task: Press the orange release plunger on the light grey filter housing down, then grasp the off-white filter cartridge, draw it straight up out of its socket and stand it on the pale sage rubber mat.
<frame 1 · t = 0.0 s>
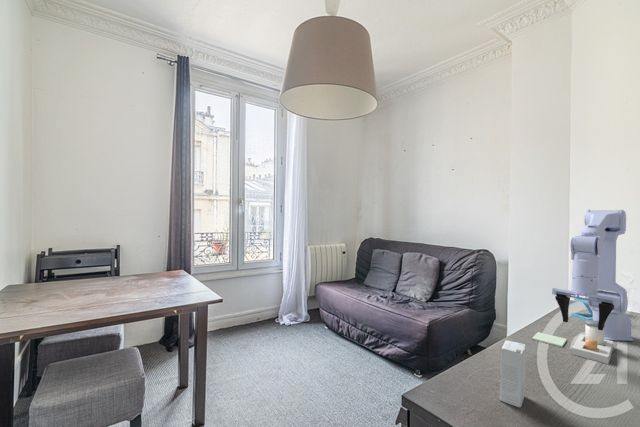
hand: (582, 325, 86), 11 cm above the table, tool pointing down, fingers open, 7 cm apart
mat: (549, 340, 102), on the table
housing: (593, 350, 94), on the table
chair: (588, 317, 125), on the table
skincare box: (512, 400, 69), on the table
cartridge: (594, 347, 96), resting in housing
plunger: (591, 344, 91), point 3 cm above the table, slide at 0.0 cm
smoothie: (592, 310, 135), on the table
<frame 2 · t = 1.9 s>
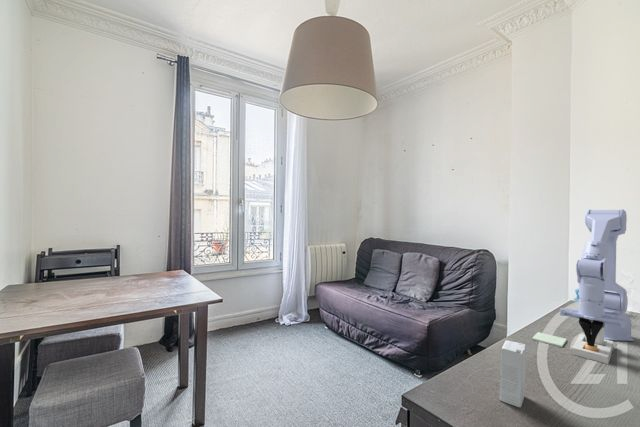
hand: (591, 345, 91), 3 cm above the table, tool pointing down, fingers closed, pressing on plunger
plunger: (591, 348, 91), point 2 cm above the table, slide at 1.4 cm, touching gripper
everything else where it was.
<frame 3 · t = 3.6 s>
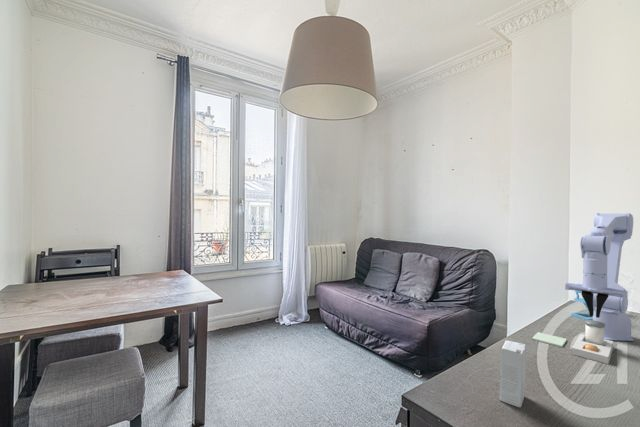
hand: (594, 316, 96), 10 cm above the table, tool pointing down, fingers closed
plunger: (591, 349, 91), point 2 cm above the table, slide at 1.7 cm
everything else where it was.
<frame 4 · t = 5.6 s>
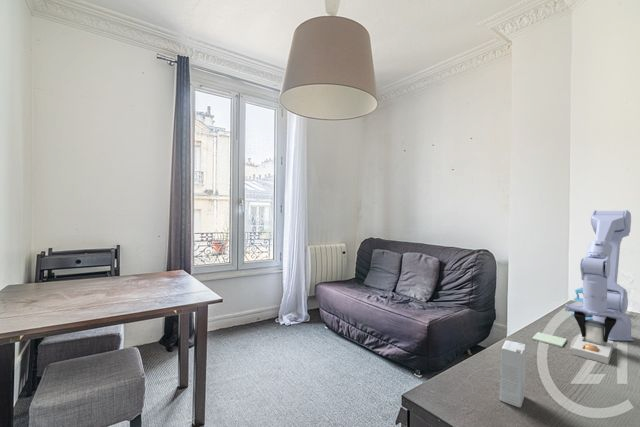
hand: (594, 338, 96), 3 cm above the table, tool pointing down, fingers closed on cartridge, 5 cm apart
cartridge: (594, 347, 96), resting in housing, touching gripper
everything else where it was.
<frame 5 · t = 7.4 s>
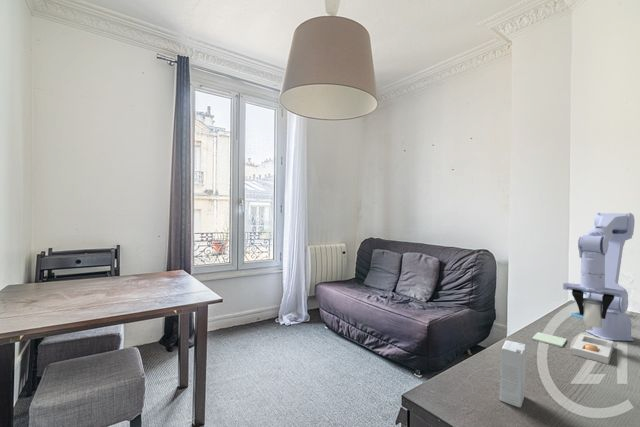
hand: (592, 315, 97), 10 cm above the table, tool pointing down, fingers closed on cartridge, 5 cm apart
cartridge: (592, 325, 96), point 7 cm above the table, touching gripper
everything else where it was.
when the fingers open (4 cm above the table, at t = 9.5 s): cartridge stays where it is, resting on mat.
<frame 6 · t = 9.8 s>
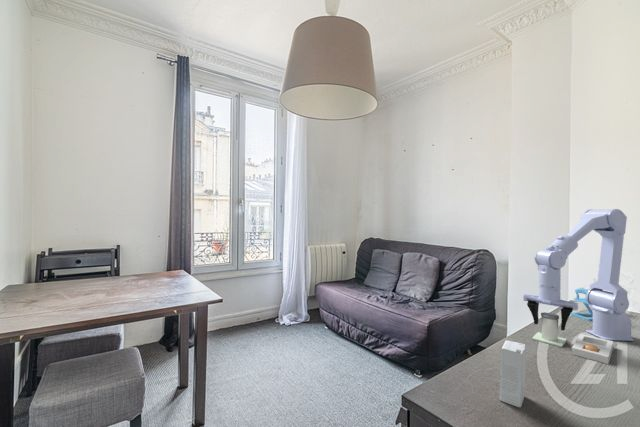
hand: (549, 326, 102), 4 cm above the table, tool pointing down, fingers open, 7 cm apart
cartridge: (549, 338, 102), point 1 cm above the table, touching mat
everything else where it was.
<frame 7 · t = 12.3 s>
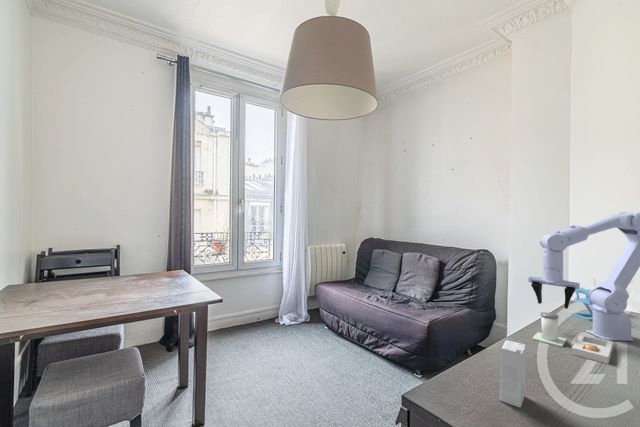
hand: (552, 305, 109), 9 cm above the table, tool pointing down, fingers open, 7 cm apart
nothing on the table moved.
at the end: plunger slide at 1.7 cm; cartridge 0.2 cm off-centre on the mat, point 0.6 cm above the mat's base; cartridge tilted 2° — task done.
